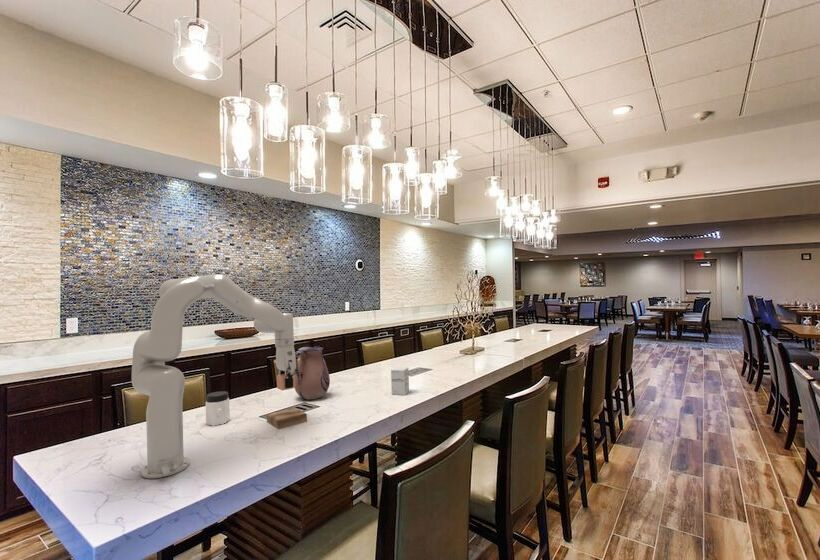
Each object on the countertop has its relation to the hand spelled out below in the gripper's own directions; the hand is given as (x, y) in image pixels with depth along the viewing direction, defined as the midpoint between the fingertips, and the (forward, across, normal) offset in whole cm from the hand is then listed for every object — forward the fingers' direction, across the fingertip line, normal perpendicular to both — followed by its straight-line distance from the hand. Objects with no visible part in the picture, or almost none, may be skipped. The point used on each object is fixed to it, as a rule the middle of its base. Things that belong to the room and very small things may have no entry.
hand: (286, 386), depth 161 cm
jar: (+15, +21, +21) cm, 33 cm away
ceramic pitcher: (+15, +25, -23) cm, 37 cm away
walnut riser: (+14, 0, 0) cm, 14 cm away
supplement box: (+15, -2, -59) cm, 61 cm away
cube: (+1, 0, 0) cm, 1 cm away
